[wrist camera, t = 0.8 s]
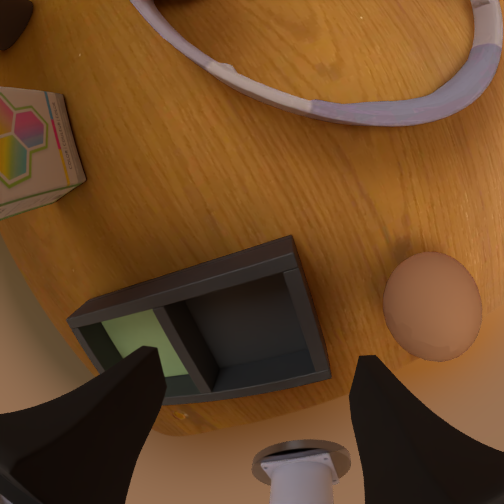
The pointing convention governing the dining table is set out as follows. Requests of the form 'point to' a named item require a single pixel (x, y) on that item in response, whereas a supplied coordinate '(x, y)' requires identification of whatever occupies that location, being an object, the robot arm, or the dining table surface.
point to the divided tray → (215, 326)
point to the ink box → (35, 151)
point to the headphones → (367, 113)
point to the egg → (432, 306)
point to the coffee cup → (13, 20)
